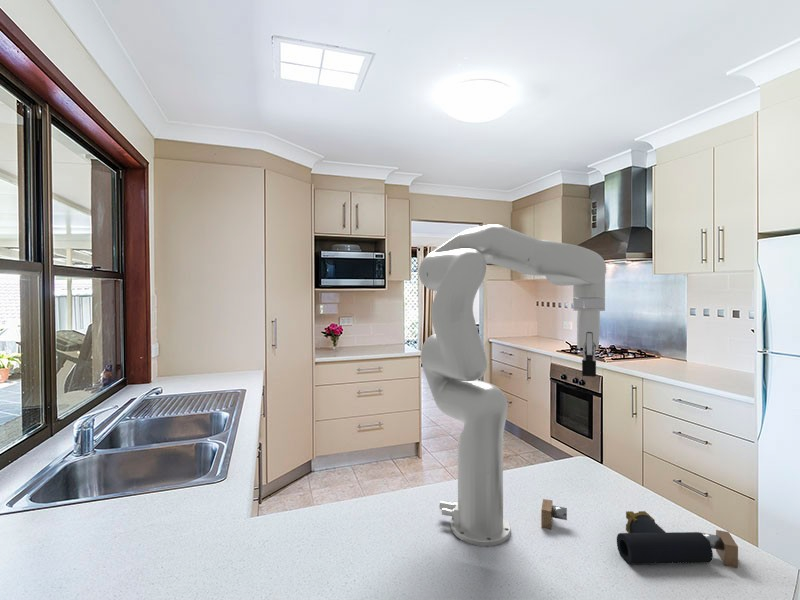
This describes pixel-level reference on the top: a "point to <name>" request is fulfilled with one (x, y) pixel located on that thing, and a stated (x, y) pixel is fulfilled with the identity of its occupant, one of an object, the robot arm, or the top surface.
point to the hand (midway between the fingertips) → (589, 375)
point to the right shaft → (724, 547)
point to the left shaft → (551, 514)
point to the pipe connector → (660, 543)
